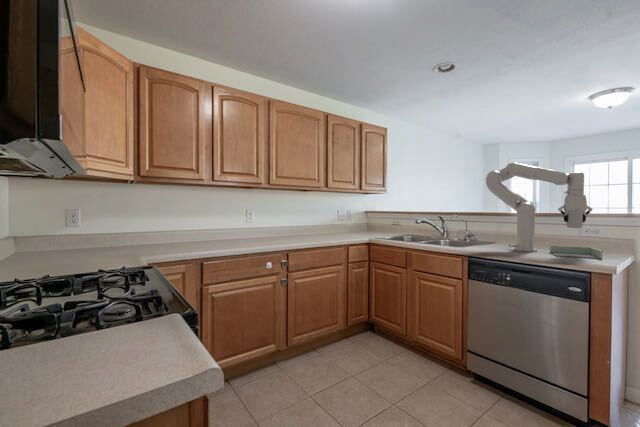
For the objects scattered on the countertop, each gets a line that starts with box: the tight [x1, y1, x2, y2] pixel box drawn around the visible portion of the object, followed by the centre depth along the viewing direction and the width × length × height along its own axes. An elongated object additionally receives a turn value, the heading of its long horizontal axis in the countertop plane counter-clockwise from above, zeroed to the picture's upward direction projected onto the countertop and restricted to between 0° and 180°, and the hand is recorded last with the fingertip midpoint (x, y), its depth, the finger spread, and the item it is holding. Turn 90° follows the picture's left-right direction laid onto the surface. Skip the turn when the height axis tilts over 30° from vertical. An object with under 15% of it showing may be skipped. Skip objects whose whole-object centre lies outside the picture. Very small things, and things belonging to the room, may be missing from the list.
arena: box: [549, 245, 603, 260], centre depth 173 cm, size 20×16×5 cm
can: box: [565, 208, 584, 229], centre depth 180 cm, size 8×8×12 cm
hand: (574, 221), depth 180 cm, fingers closed on can, 7 cm apart
